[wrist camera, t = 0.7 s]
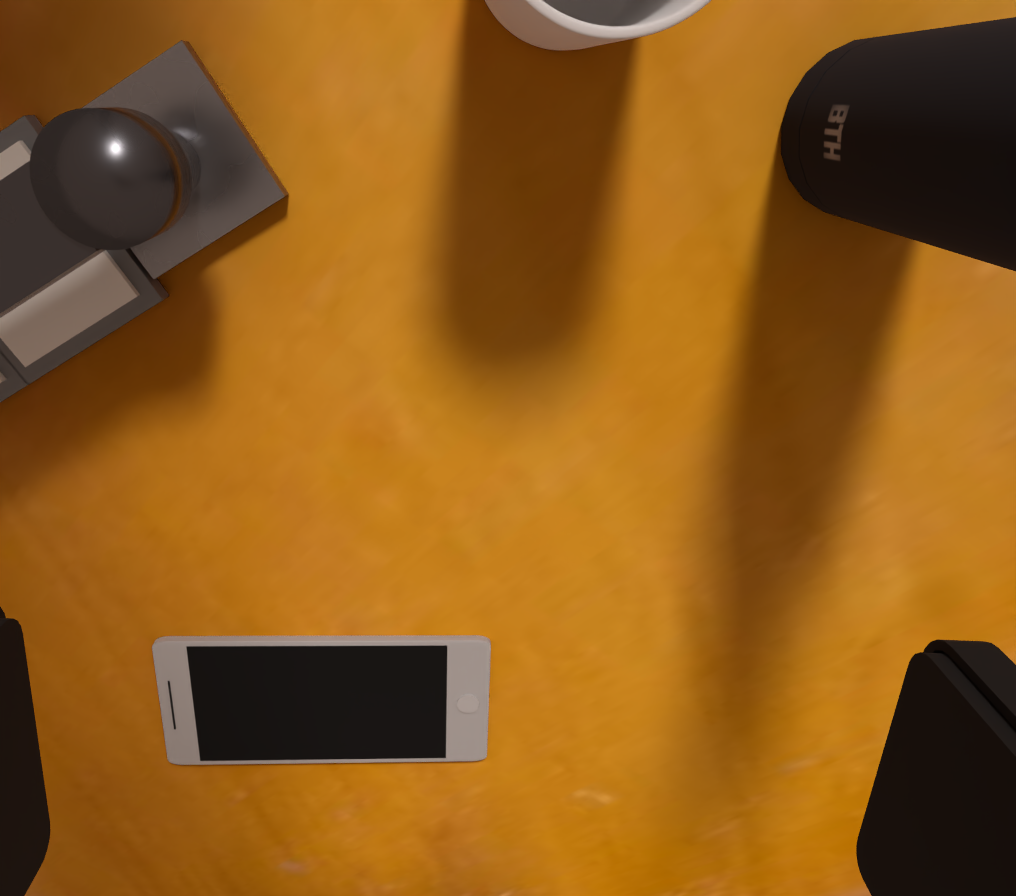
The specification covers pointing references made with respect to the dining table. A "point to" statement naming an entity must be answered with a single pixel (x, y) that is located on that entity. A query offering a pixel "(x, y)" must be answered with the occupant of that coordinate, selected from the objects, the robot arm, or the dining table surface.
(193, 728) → the smartphone
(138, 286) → the label tile
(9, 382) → the label tile
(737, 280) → the dining table surface
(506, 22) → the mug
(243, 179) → the pivot post base
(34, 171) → the swing arm
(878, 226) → the black bottle
